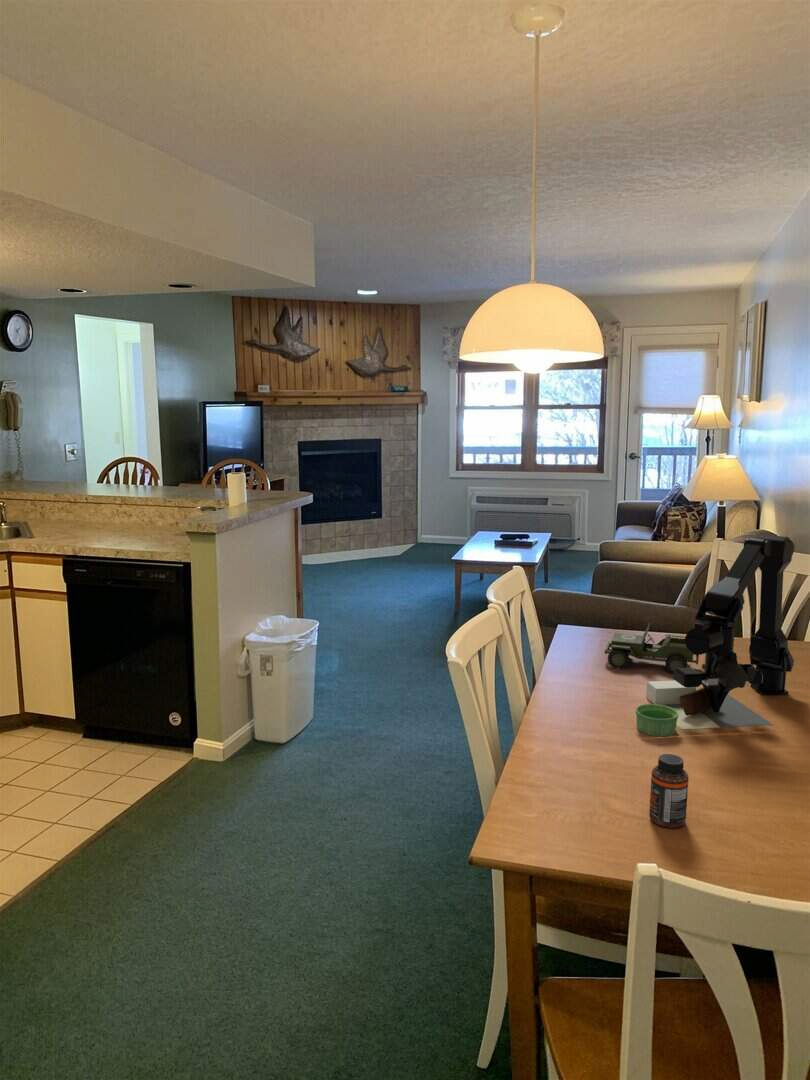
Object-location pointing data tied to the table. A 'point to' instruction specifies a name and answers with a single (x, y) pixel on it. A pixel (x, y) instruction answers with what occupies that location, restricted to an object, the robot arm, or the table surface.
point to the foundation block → (666, 692)
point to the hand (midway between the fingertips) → (715, 711)
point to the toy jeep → (649, 651)
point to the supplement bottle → (669, 792)
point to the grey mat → (720, 716)
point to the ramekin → (656, 719)
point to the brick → (695, 702)
